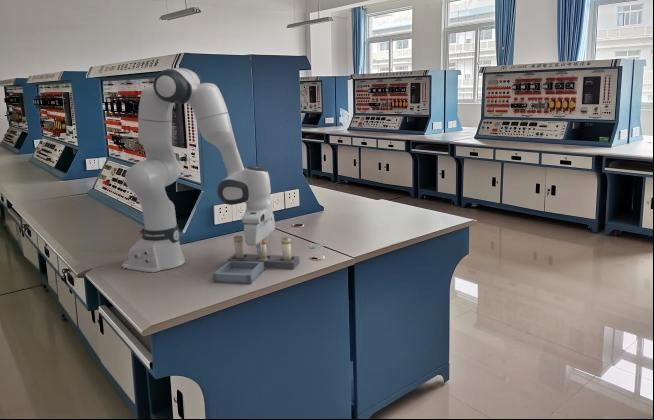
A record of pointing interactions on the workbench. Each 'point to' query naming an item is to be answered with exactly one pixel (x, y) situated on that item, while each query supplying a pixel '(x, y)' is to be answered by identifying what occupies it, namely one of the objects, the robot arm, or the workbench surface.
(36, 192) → the workbench surface
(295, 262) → the fuse holder
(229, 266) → the parts tray
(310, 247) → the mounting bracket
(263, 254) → the marked fuse
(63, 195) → the workbench surface
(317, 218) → the workbench surface
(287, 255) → the right fuse
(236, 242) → the left fuse
